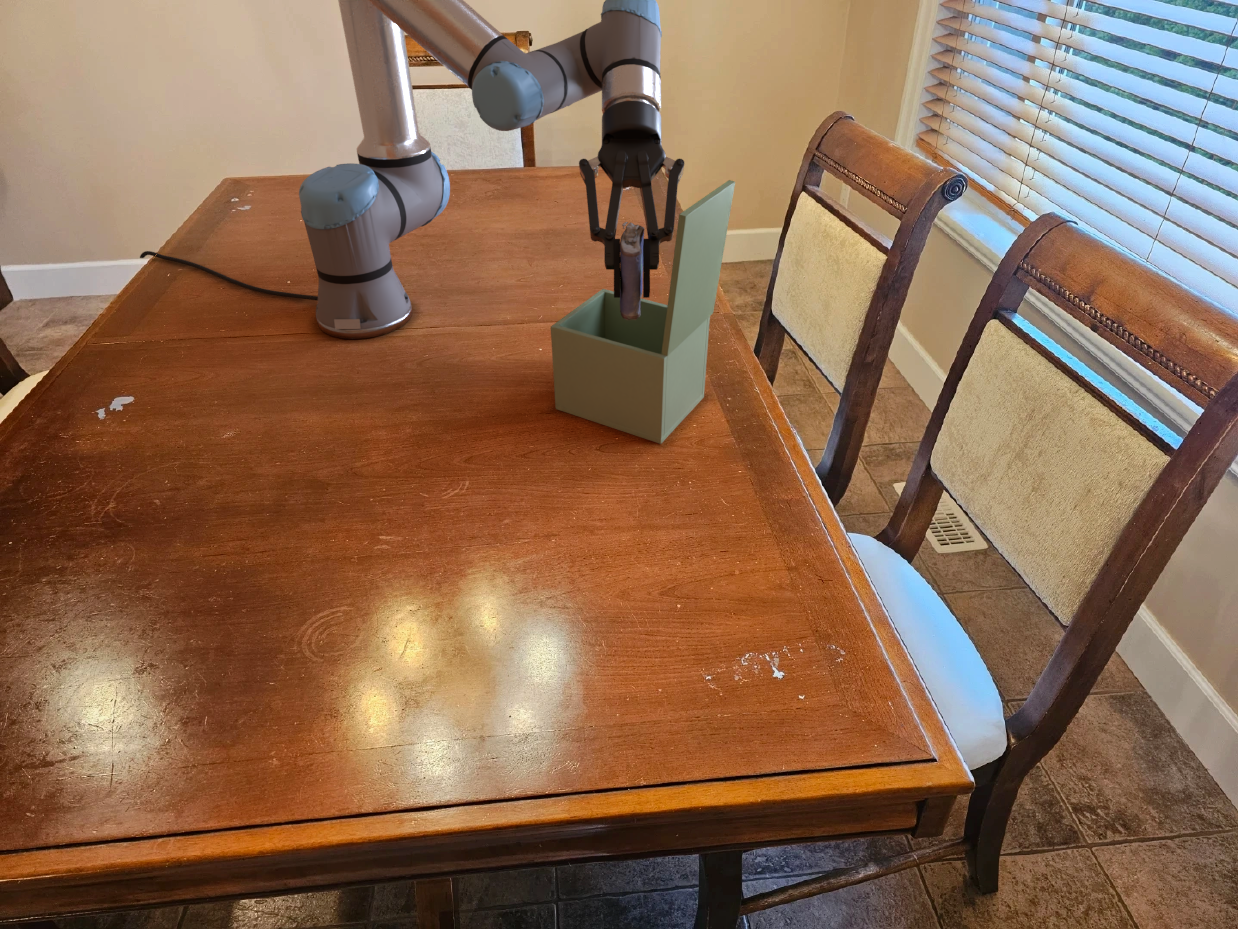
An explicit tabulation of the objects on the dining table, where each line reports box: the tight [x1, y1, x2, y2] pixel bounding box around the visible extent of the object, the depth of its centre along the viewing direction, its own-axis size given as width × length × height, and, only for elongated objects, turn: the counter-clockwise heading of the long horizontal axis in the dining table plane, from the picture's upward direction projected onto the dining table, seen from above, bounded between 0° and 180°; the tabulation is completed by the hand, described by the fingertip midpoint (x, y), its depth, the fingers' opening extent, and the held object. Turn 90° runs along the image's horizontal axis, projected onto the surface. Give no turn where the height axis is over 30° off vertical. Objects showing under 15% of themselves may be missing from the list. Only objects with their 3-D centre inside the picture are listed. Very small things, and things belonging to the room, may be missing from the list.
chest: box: [550, 288, 711, 445], centre depth 108 cm, size 17×13×13 cm
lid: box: [662, 179, 736, 356], centre depth 95 cm, size 18×13×1 cm
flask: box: [620, 221, 645, 320], centre depth 99 cm, size 9×3×11 cm, turn 176°
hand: (631, 293), depth 97 cm, fingers closed on flask, 3 cm apart
